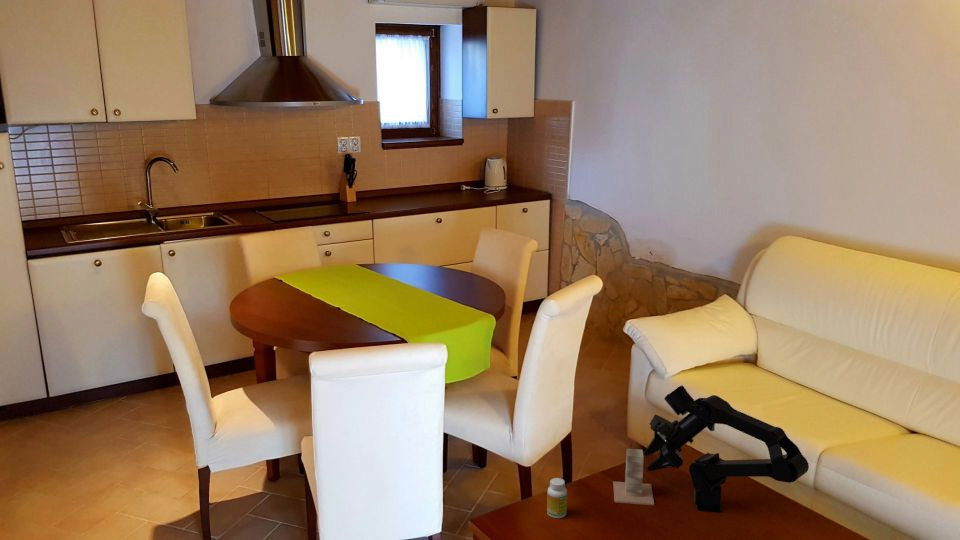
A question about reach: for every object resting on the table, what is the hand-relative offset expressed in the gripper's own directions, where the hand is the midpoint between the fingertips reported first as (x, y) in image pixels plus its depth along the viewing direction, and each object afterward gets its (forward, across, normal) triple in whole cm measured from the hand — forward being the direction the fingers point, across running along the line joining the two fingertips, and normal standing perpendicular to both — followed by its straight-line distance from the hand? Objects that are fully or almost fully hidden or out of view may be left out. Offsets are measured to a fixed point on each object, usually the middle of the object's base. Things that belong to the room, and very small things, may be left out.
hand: (646, 462), depth 207 cm
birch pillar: (+9, 0, +5) cm, 11 cm away
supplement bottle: (+25, +12, -10) cm, 30 cm away
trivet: (+10, 0, +5) cm, 11 cm away
